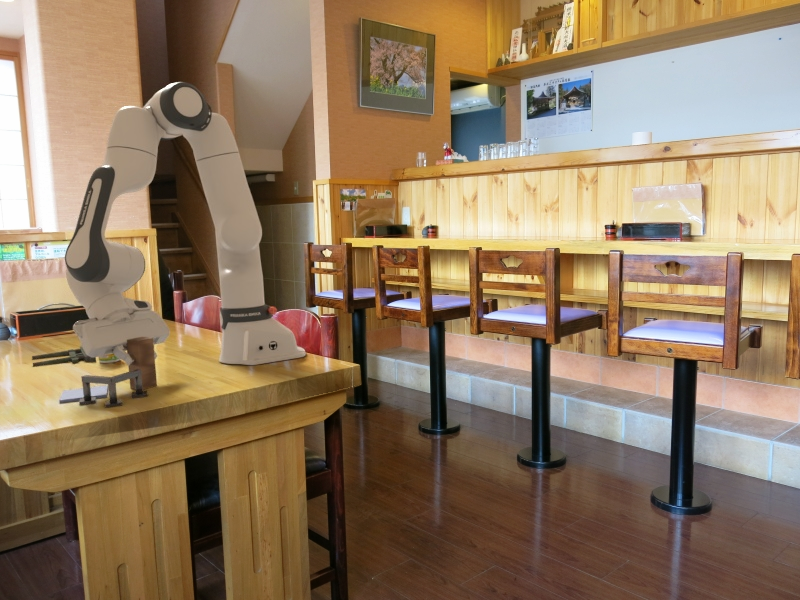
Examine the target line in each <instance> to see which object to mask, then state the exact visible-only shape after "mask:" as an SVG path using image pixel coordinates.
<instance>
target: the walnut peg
mask: <svg viewBox="0 0 800 600" xmlns="http://www.w3.org/2000/svg"><path fill="white" fill-rule="evenodd" d="M126 345H127V350H126V353H128V354H129V355H132V354H133V355H134V358H136V362H135V364H134V365H130V366H128V365H127V367H128V372H130V371H133V370H136V369H139V370H141V373H142V375H141V376H142V388H143V391H145V390H147V389H149V388H150V389H151V388H153V387H157V386H158V382H157V368H156V359H155V357H154V351H155V344H154V345H153V338H149V337H138V338H133V339H128V340H127V344H126ZM129 385H130V386H129V388H130V389H133V390H136V389H135V378H131V379H129Z"/></svg>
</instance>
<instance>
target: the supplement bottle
mask: <svg viewBox="0 0 800 600" xmlns="http://www.w3.org/2000/svg"><path fill="white" fill-rule="evenodd" d="M119 361H121V359H120V358H118V357H116V356H115V355H114V353H112V354H108V355H103V356H98V362H99V363H101V364H112V363H117V362H119Z"/></svg>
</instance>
